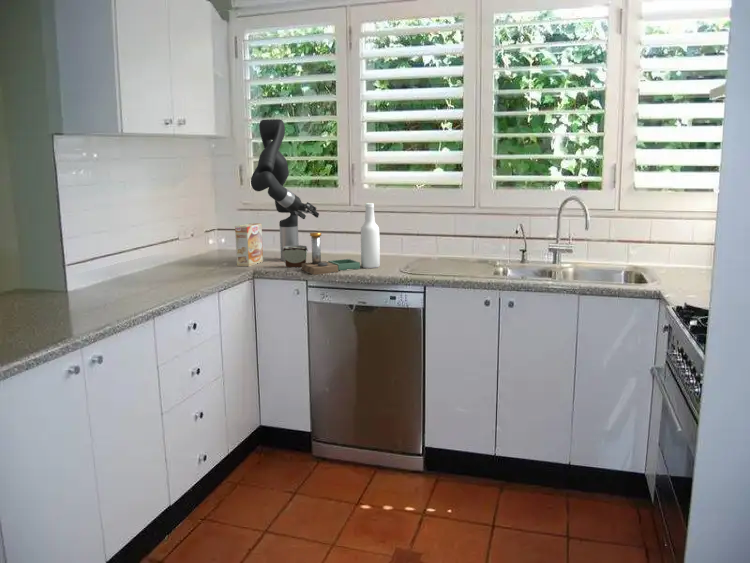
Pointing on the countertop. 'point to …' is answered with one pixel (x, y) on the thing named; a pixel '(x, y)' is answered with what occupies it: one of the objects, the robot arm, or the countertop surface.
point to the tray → (346, 264)
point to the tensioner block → (319, 268)
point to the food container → (295, 255)
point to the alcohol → (370, 240)
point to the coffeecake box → (249, 244)
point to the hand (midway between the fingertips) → (311, 216)
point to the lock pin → (316, 248)
